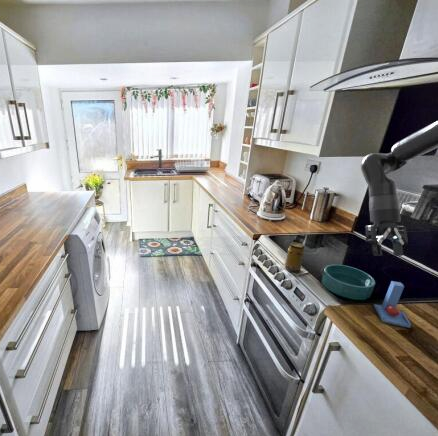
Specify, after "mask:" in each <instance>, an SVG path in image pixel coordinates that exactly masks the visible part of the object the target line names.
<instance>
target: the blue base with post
mask: <svg viewBox="0 0 438 436" xmlns="http://www.w3.org/2000/svg"><path fill="white" fill-rule="evenodd" d="M404 288H405V285H404V284H403V283H402V282H400V281H394V280H391V281H390V284H389V286H388V289H387V292H386V294H385V297H384V299H383V302H382V304H381V305H380V304H375V303H374V304H373V307H374V310H376V312H377V315H378V316H379V318H380V320H381V322H383V323H386V324H390V325H391V324H392V325H394V326H399V327H402V328H408V329H411V327H412V323H411V322H410V320H409V319H408V317H407V316H406V313H405V312H404V311H401V310H400V309H399V311H400V314H399V315H398V316H391V315H389V314H388V313H387V312H386V308H387V307H388V306H394V307H396V308H397V306H398V303H399V301H400V298H401V297H402V296H401V295H402V293H403V291H404Z"/></svg>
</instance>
